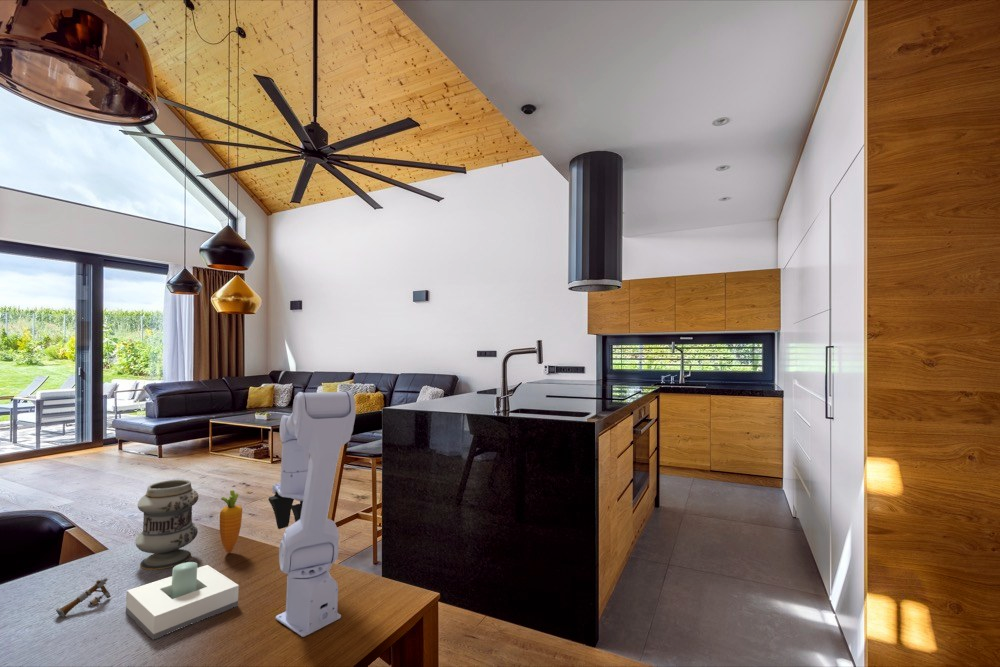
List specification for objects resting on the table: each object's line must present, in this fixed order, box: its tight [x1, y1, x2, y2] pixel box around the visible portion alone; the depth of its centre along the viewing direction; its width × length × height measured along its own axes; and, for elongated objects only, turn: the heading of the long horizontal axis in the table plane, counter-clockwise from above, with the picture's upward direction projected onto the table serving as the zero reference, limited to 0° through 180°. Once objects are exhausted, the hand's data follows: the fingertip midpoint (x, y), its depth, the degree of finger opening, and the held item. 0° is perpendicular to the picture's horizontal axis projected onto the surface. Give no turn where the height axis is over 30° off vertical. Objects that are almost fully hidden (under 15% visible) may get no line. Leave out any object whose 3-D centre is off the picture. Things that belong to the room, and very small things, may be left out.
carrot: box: [219, 489, 243, 554], centre depth 115 cm, size 5×5×15 cm
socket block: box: [125, 564, 240, 641], centre depth 90 cm, size 14×14×4 cm
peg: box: [171, 561, 198, 599], centre depth 90 cm, size 4×4×7 cm
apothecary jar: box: [135, 479, 199, 571], centre depth 111 cm, size 12×12×18 cm
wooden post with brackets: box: [55, 577, 112, 619], centre depth 90 cm, size 2×8×4 cm, turn 154°
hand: (292, 531), depth 103 cm, fingers open, 7 cm apart
